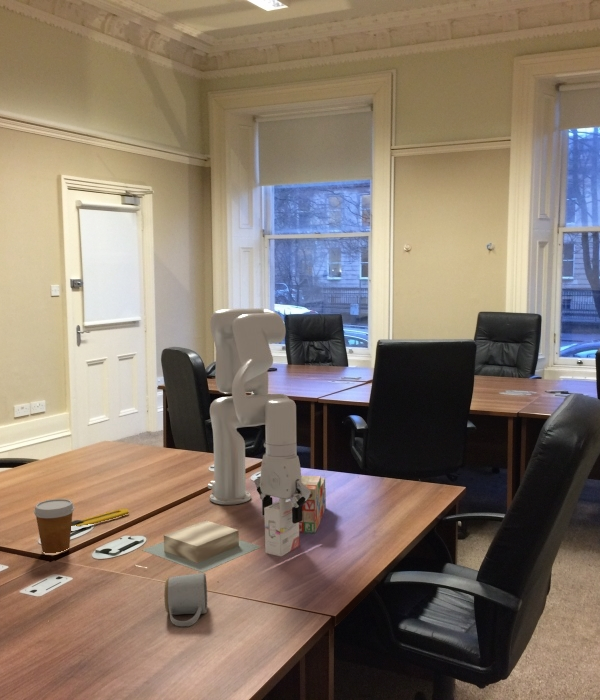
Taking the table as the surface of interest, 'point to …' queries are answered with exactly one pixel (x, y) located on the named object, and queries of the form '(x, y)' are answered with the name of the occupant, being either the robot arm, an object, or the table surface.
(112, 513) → the utility knife
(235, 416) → the robot arm
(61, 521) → the disposable coffee cup
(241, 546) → the mat
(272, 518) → the ink cartridge box
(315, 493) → the stack of blocks
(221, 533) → the base block
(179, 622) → the ceramic mug
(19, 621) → the table surface
